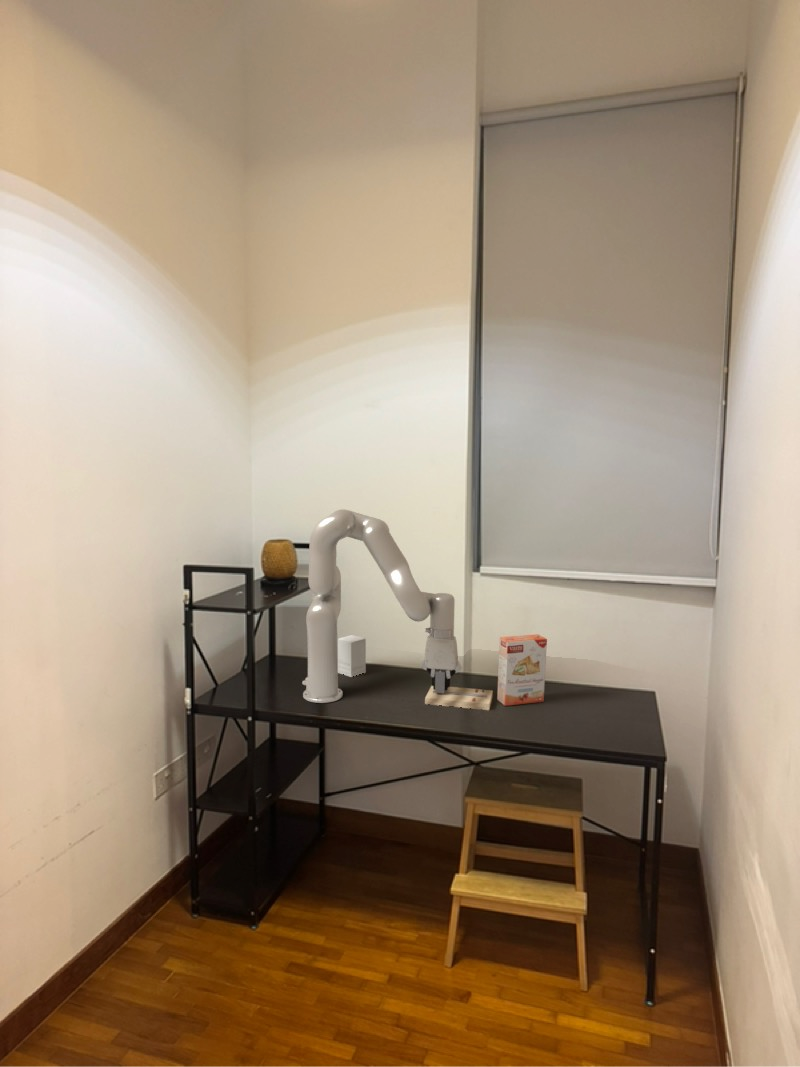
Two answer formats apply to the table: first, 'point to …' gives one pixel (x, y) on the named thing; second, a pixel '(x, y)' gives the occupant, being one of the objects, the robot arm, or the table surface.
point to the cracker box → (521, 669)
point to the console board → (461, 698)
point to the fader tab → (440, 681)
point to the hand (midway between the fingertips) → (440, 688)
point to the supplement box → (351, 655)
